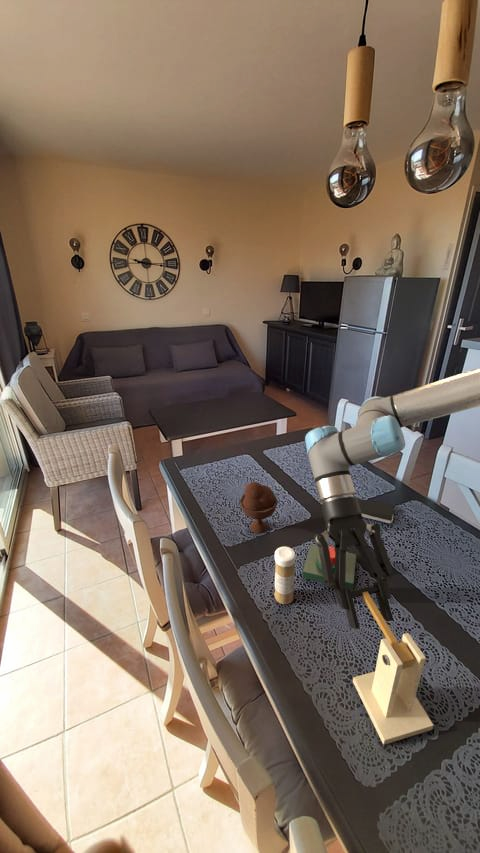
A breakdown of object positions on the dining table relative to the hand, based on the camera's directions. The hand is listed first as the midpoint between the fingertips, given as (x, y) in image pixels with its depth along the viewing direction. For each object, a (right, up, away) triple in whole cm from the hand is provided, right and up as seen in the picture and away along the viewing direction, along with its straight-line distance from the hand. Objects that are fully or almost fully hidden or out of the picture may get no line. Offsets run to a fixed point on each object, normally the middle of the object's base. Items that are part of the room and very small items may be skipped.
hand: (371, 623), depth 67 cm
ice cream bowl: (-19, +6, +41) cm, 45 cm away
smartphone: (+16, +10, +47) cm, 50 cm away
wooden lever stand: (+2, -12, -3) cm, 13 cm away
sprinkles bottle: (-14, -4, +18) cm, 23 cm away
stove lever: (0, +1, -3) cm, 3 cm away
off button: (-2, +3, +24) cm, 24 cm away
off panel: (-1, 0, +25) cm, 25 cm away
